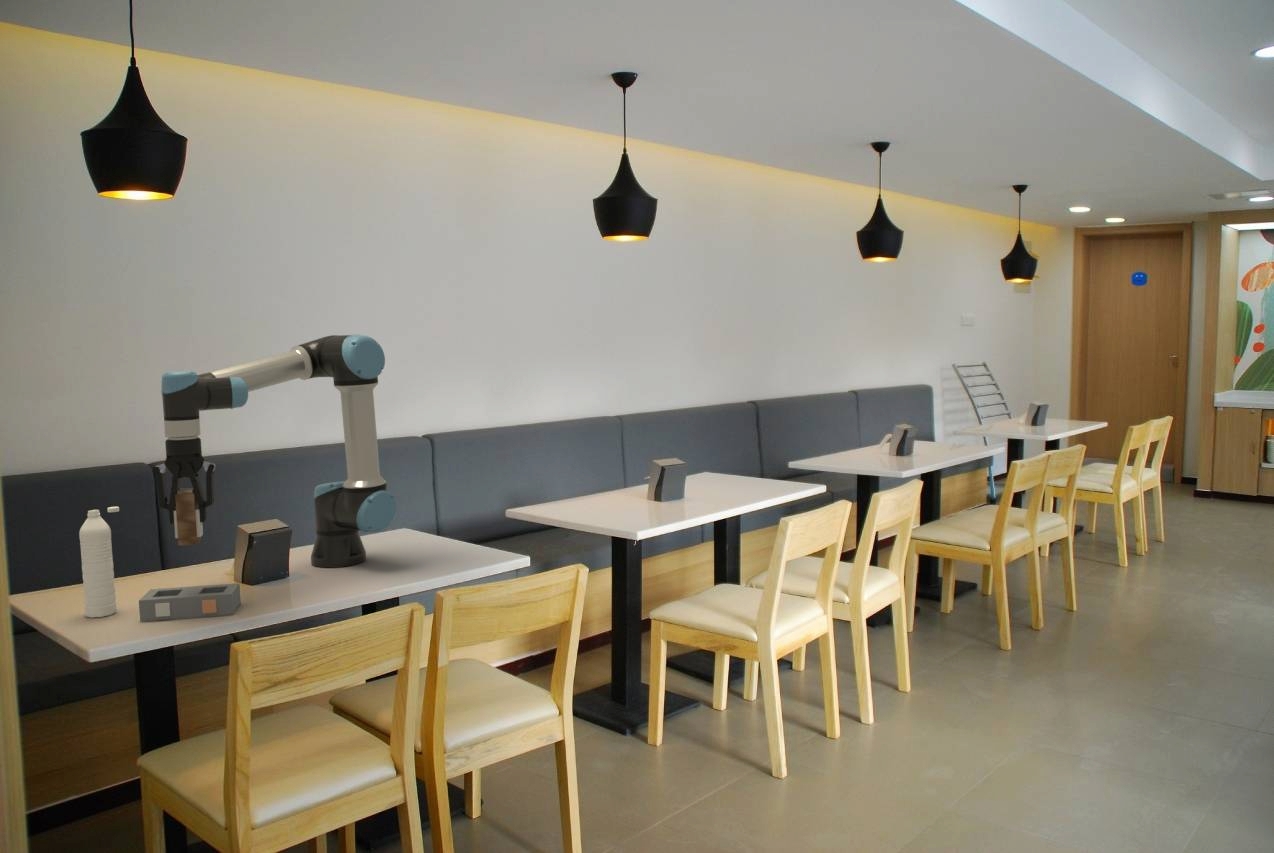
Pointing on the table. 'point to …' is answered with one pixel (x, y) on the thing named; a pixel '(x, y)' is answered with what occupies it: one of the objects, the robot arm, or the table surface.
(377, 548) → the table surface
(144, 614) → the socket block
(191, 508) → the plug
